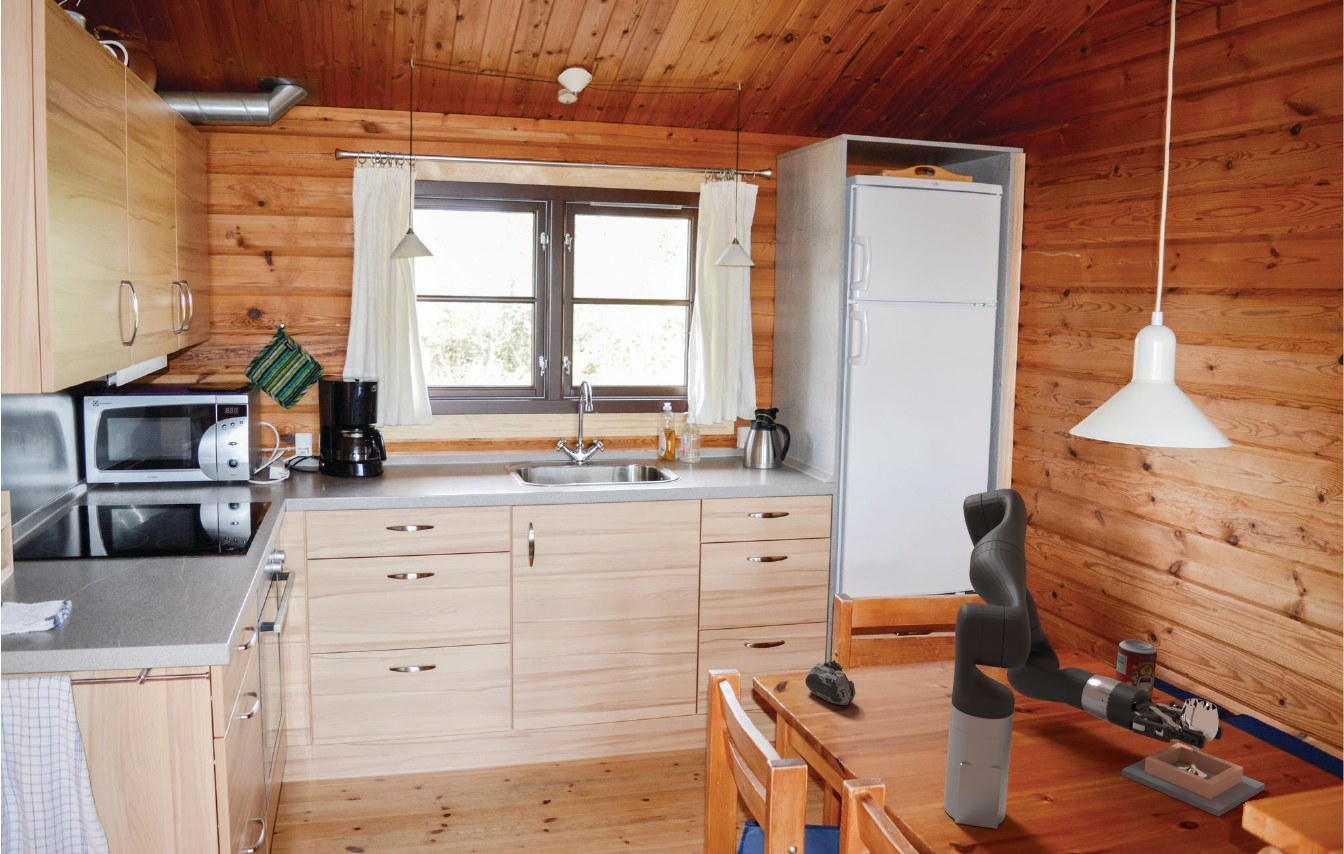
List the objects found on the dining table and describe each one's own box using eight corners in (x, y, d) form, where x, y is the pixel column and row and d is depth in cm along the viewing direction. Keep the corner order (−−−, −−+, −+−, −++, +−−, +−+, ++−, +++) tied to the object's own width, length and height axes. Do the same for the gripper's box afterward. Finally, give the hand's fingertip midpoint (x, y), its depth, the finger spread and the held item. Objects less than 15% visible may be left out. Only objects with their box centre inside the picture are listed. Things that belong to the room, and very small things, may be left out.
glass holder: (1264, 789, 164) (1266, 769, 163) (1218, 816, 154) (1220, 795, 154) (1168, 751, 177) (1171, 733, 176) (1121, 774, 167) (1123, 755, 167)
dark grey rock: (842, 714, 188) (877, 700, 194) (843, 679, 187) (878, 666, 193) (798, 694, 198) (832, 681, 204) (798, 660, 197) (833, 648, 203)
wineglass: (1173, 760, 169) (1181, 694, 167) (1211, 768, 167) (1220, 702, 165) (1173, 774, 164) (1181, 706, 162) (1212, 783, 161) (1221, 714, 160)
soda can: (1131, 710, 194) (1137, 650, 193) (1105, 696, 201) (1111, 638, 199) (1159, 707, 197) (1165, 648, 195) (1133, 693, 203) (1138, 636, 202)
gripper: (1096, 690, 171) (1195, 726, 157) (1138, 673, 179) (1235, 707, 166) (1091, 731, 172) (1190, 770, 158) (1133, 712, 180) (1230, 748, 167)
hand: (1212, 737), depth 162 cm, fingers closed on wineglass, 5 cm apart
